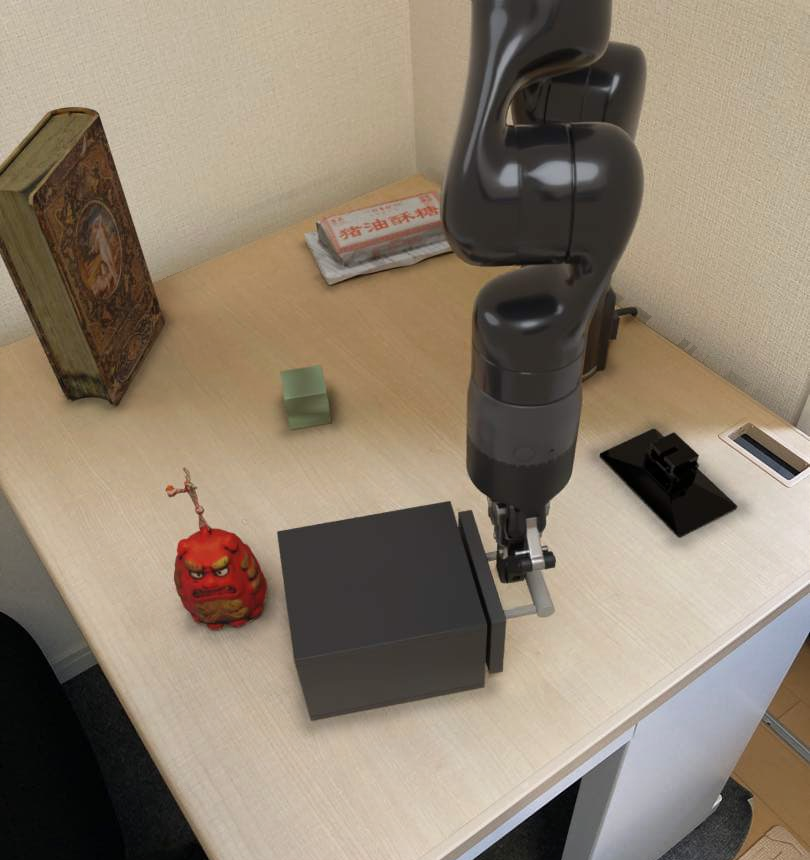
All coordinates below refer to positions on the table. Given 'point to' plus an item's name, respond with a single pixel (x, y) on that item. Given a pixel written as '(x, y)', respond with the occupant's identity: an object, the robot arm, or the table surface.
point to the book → (77, 255)
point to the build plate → (668, 480)
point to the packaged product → (378, 237)
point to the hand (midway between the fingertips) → (510, 574)
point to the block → (305, 397)
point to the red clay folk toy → (217, 573)
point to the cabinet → (382, 610)
